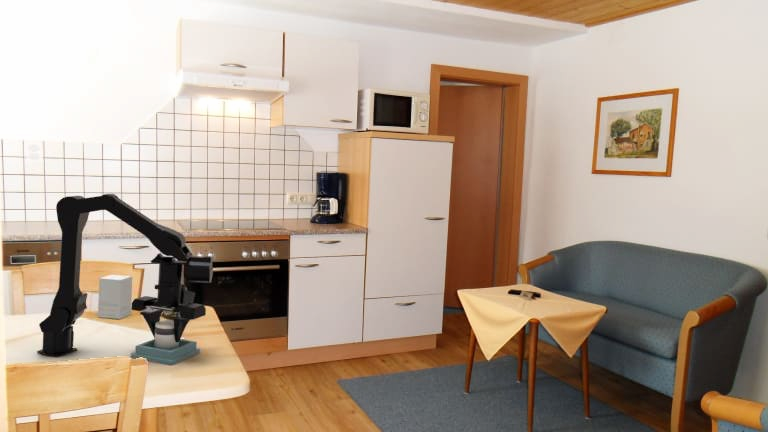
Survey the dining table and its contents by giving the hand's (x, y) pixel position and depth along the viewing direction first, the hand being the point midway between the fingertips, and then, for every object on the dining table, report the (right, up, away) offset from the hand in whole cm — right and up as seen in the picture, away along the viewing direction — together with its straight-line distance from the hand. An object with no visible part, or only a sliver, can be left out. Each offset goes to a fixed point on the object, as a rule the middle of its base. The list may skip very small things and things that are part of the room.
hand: (166, 340), depth 150 cm
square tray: (0, -4, 0) cm, 4 cm away
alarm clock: (-12, -1, +38) cm, 40 cm away
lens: (0, -2, 0) cm, 2 cm away
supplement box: (-30, 0, +35) cm, 46 cm away
